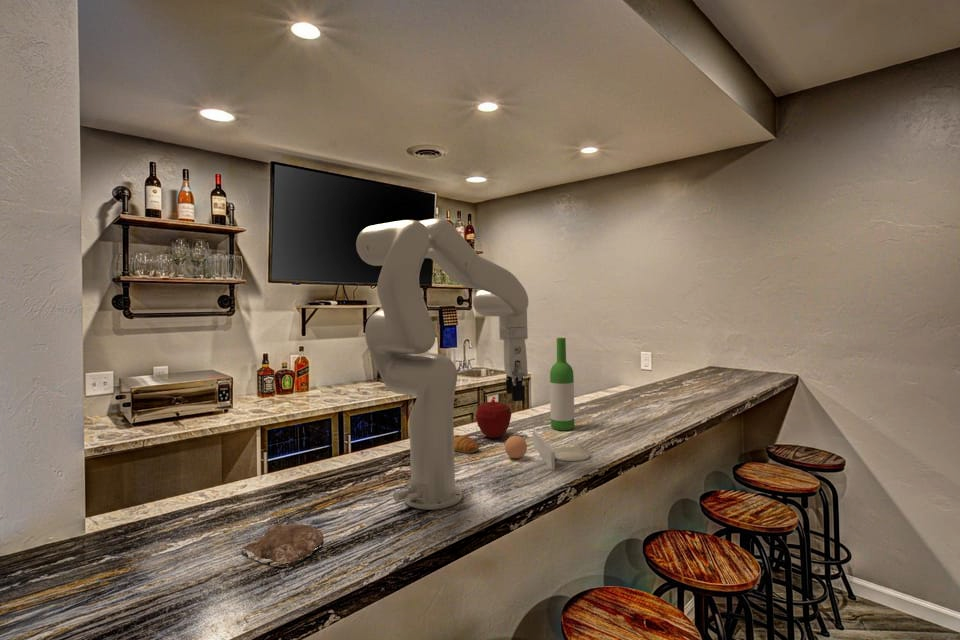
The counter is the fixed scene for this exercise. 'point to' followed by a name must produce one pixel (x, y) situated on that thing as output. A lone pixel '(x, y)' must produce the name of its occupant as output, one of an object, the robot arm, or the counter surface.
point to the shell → (286, 543)
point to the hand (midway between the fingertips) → (515, 396)
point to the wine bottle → (562, 390)
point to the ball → (515, 447)
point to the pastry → (464, 444)
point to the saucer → (571, 454)
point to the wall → (544, 450)
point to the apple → (493, 418)
